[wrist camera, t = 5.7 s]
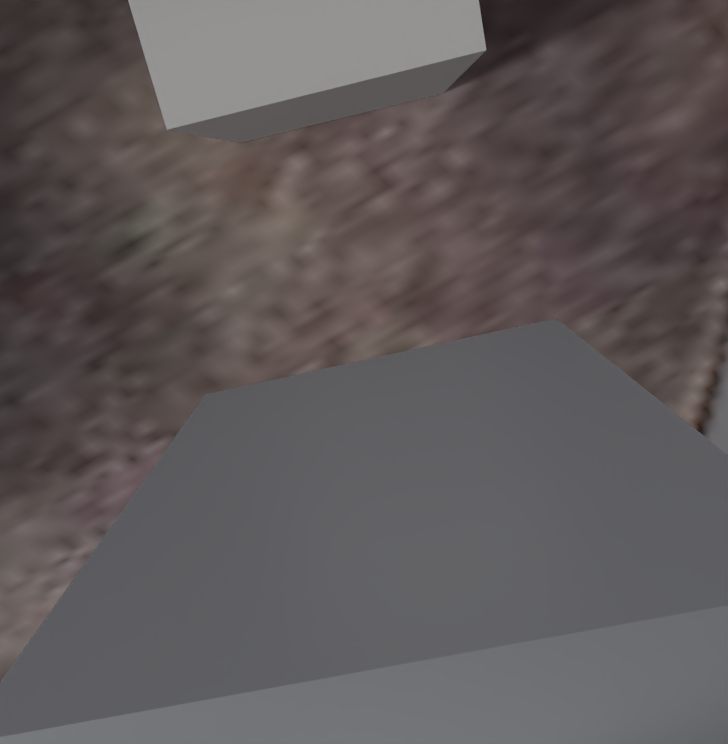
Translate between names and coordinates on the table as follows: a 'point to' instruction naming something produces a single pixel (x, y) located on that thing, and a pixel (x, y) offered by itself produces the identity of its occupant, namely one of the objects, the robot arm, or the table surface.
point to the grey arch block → (404, 566)
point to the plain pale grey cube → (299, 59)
